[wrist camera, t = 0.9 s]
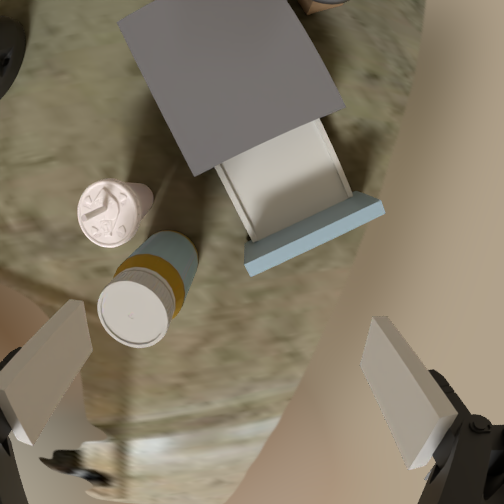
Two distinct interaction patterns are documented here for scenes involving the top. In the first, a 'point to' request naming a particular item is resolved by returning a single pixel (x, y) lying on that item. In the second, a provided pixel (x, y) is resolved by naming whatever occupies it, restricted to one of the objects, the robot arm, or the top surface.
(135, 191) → the smoothie
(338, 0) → the disc
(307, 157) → the light blue drawer
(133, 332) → the bottle
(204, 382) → the top surface
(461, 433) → the robot arm
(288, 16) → the housing
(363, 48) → the top surface
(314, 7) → the block
